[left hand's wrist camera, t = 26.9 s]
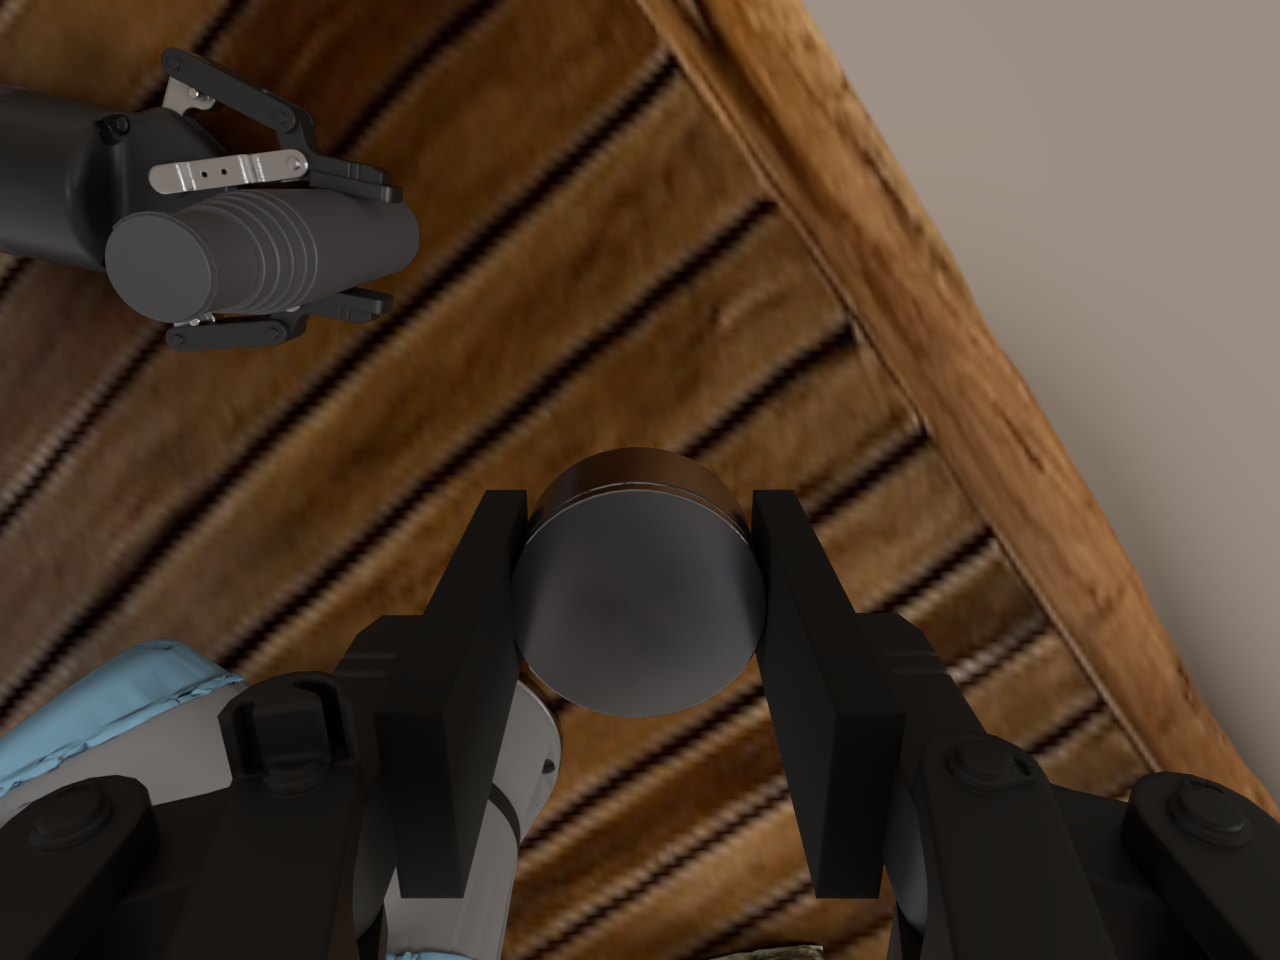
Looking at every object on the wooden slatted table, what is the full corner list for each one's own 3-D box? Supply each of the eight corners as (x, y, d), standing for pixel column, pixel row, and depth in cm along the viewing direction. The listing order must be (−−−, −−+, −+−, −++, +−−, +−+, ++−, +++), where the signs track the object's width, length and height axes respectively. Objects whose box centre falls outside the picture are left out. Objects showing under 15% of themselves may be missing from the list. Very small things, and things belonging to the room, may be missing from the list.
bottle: (437, 241, 43) (265, 286, 23) (377, 290, 44) (164, 373, 24) (381, 171, 42) (150, 155, 22) (321, 223, 43) (47, 252, 23)
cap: (714, 416, 14) (727, 455, 12) (775, 615, 15) (796, 681, 13) (490, 485, 14) (464, 535, 12) (570, 672, 16) (559, 744, 14)
